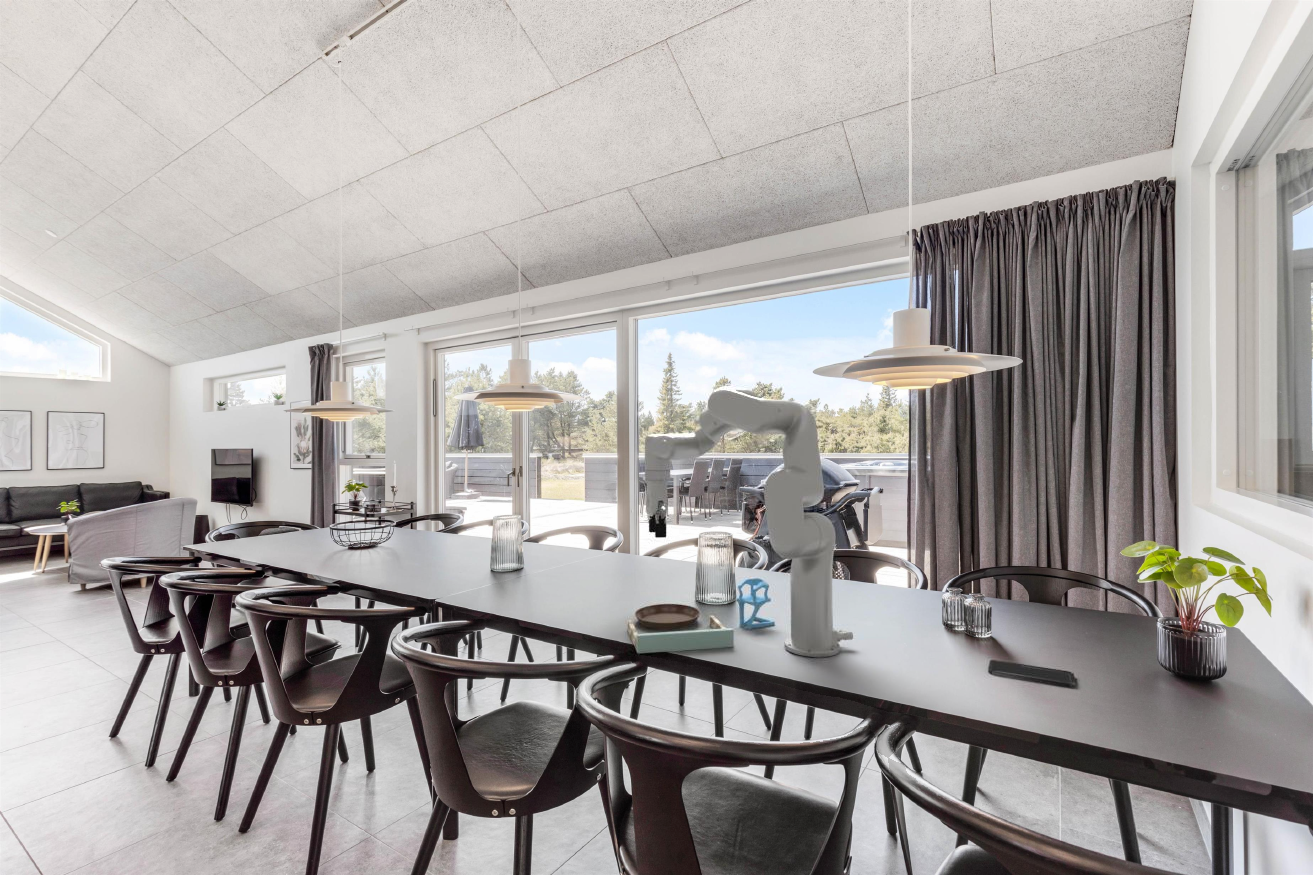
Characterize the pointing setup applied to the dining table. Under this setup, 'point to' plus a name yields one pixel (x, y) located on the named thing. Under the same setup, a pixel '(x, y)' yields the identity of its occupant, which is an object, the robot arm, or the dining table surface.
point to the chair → (753, 603)
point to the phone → (1032, 673)
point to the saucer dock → (683, 639)
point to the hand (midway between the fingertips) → (657, 534)
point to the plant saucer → (667, 616)
